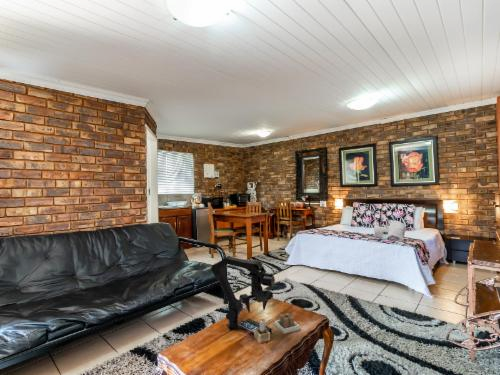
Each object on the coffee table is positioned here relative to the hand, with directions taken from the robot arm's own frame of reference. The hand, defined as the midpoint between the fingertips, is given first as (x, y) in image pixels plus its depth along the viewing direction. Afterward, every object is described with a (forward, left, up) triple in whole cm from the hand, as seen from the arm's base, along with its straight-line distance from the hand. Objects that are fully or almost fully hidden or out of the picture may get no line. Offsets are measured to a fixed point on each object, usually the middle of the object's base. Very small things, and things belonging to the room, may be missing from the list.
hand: (256, 311), depth 154 cm
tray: (+3, +18, -12) cm, 22 cm away
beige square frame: (+7, 0, -12) cm, 14 cm away
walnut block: (+3, +18, -11) cm, 22 cm away
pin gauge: (+7, 0, -12) cm, 14 cm away
